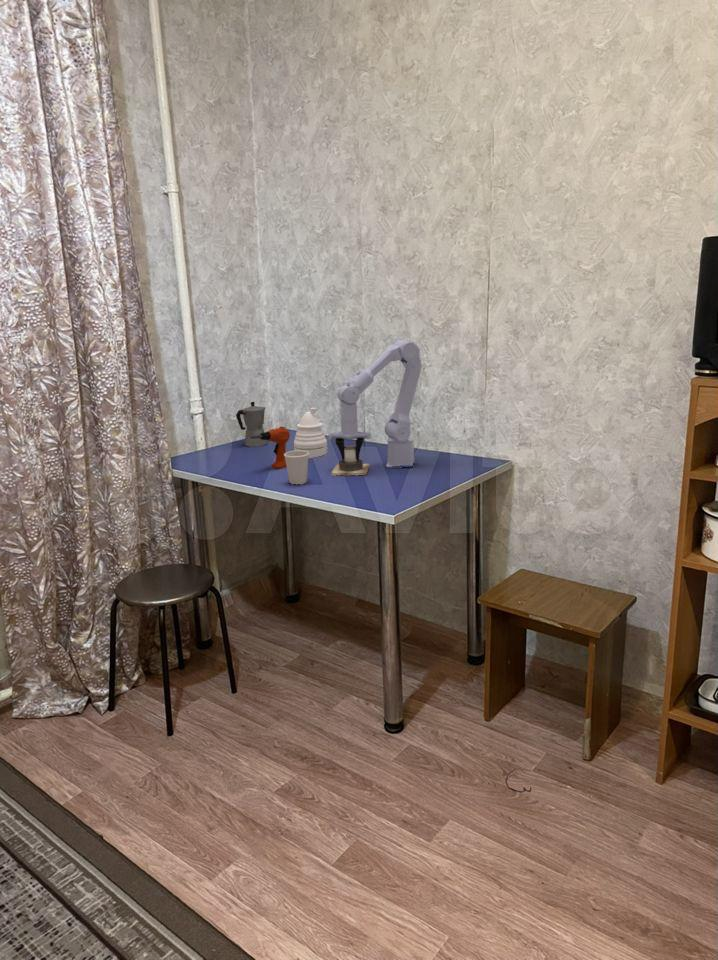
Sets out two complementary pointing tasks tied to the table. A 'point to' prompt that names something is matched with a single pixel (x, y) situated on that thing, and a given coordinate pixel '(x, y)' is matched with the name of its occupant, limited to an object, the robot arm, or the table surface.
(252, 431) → the coffeepot
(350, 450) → the grey cylinder
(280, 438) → the toy drill
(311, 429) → the honey pot
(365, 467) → the square plate with ring
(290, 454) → the dixie cup
